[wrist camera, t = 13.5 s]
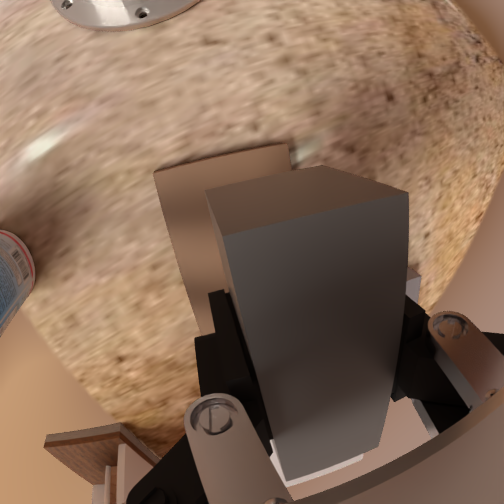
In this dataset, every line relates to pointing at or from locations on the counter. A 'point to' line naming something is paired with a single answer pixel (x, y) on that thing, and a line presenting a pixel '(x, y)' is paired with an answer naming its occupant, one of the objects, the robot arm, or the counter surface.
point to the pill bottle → (13, 276)
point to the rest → (207, 215)
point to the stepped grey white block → (317, 306)
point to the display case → (104, 459)
